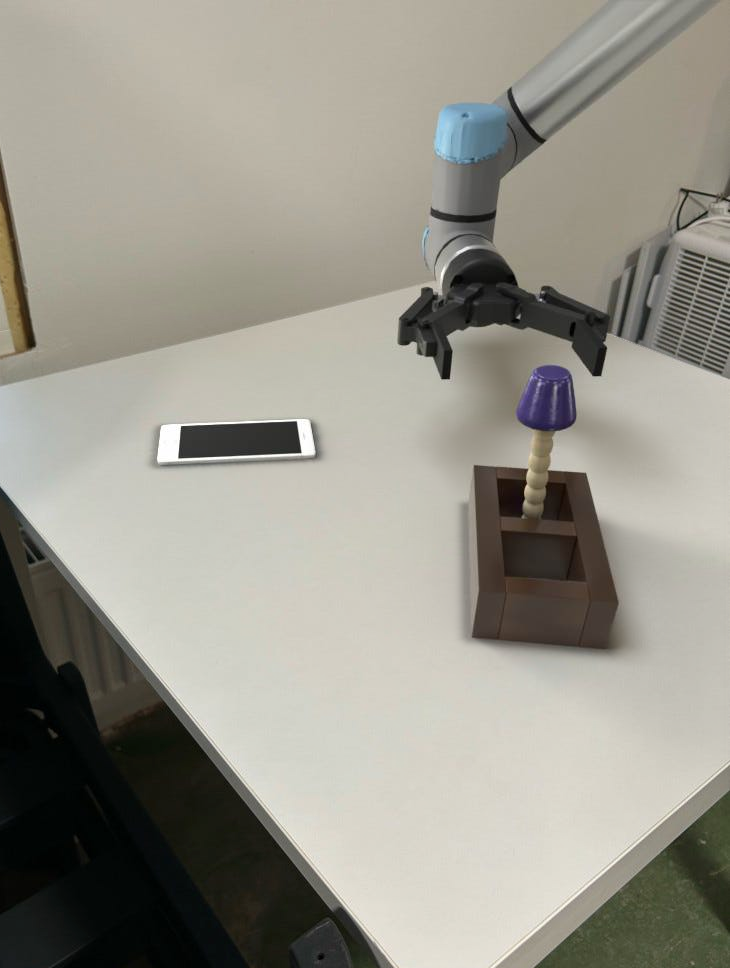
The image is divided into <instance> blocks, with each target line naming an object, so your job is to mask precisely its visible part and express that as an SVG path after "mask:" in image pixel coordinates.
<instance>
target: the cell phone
mask: <svg viewBox="0 0 730 968" xmlns="http://www.w3.org/2000/svg"><path fill="white" fill-rule="evenodd" d="M316 453H317V451H316V445H315V441H314V435H313V430H312V424H311V421H310V419H307V418H303V419H302V418H299V419H298V418H295V419H276V420H275V419H271V420H250V421H249V420H248V421H226V422H224V421H222V422H221V421H220V422H199V423H197V422H196V423H177V424H176V423H174V424H163V425H162V426H161V427H160V435H159V442H158V452H157V459H156V460H157V464H158V465H160V466H169V465H170V466H171V465H191V464H194V465H195V464H214V463H215V464H217V463H235V462H236V463H237V462H239V463H240V462H256V461H280V460H282V461H283V460H302V459H303V460H304V459H305V460H306V459H314V458H316Z"/></svg>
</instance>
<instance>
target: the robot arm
mask: <svg viewBox="0 0 730 968" xmlns="http://www.w3.org/2000/svg"><path fill="white" fill-rule="evenodd" d="M722 1H723V0H607V1H606V2H605V3H603V4H602V5H601V6H600V7H599V8H598V9H597V10H596V11H595V12H594V13H592V14H591V15H590V16H589V17H588V18H587V19H586V20H584V21H583V22H582V23H581V24H580V25H578V27H577V28H575V29H574V30H573V31H572V32H571V33H569V34H568V35H567V36H566V37H565V38H564V39H563V40H562V41H560V43H558V44H557V45H556V46H555V47H554V48H553V49H551V50H550V51H549V52H548V53H547V54H546V55H545V56H544V57H543V58H542V59H540V60H539V61H538V62H537V63H536V64H535V65H533V67H531V68H530V69H529V70H528V71H526V72H525V73H524V74H523V75H522V76H521V77H520V78H518V79H517V81H516V82H514V83H513V84H512V85H511V86H510V87H509V88H507V90H505V91H504V92H503V93H501V94H500V95H499V96H498V97H497V98H495V100H493V101H492V102H491V103H484V102H457V103H451V104H447V105H445V106H444V107H443V108H442V109H440V111H439V114H438V118H437V124H436V132H435V137H434V139H433V147H434V148H433V149H434V154H433V155H434V157H433V168H432V169H433V170H432V184H431V201H430V211H429V220H428V221H429V222H428V225H427V227H426V229H425V230H424V232H423V236H422V242H421V247H422V258H423V260H424V262H425V266H426V268H427V270H428V271H429V273H430V274H431V276H432V278H433V280H434V281H435V284H436V285H437V287H438V289H439V291H440V294H439V292H437V291H434V289H433V288H432V287H429V286H424V287H421V288H420V296H419V297H418V298H417V299H416V300H415V301H414V302H413V303H412V304H411V305H410V306H409V307H408V308H406V310H405V311H404V312H403V313H402V314H401V315H400V317H398V325H397V345H398V346H402V347H406V346H409V345H411V344H412V343H416V352H415V354H417V355H418V356H421V357H425V358H432V359H433V362H434V364H435V366H436V369H437V372H438V375H439V377H440V379H441V380H451V373H452V372H451V371H452V364H453V363H452V362H453V353H454V351H453V348H452V345H451V343H450V341H449V339H448V336H450V335H451V334H453V333H454V332H456V331H461V332H464V331H465V330H467V329H468V328H486V327H489V326H492V325H494V324H496V325H499V326H503V325H505V326H509V327H512V328H514V329H517V330H520V331H524V330H525V329H532V330H536V331H538V332H541V333H544V334H547V335H550V336H553V337H556V338H559V339H561V340H565V341H568V342H570V343H571V348H572V350H573V352H574V353H575V354H576V356H577V357H578V358H579V360H580V361H581V363H582V364H583V365H584V367H585V368H586V370H587V371H588V372H589V373H590V375H591V376H592V377H602V374H603V370H604V365H605V360H606V356H607V351H608V347H607V345H606V344H605V342H606V340H607V336H608V331H609V327H610V322H611V317H612V316H611V315H610V314H608V313H605V312H603V311H601V310H599V309H597V308H595V307H592V306H589V305H587V304H585V303H583V302H580V301H578V300H576V299H574V298H571V297H569V296H567V295H564V294H562V293H560V292H558V291H557V289H556V288H554V287H553V286H550V285H542V286H541V287H540V292H539V293H532V292H529V291H527V290H525V289H523V288H521V287H519V283H518V280H517V278H516V275H515V272H514V270H513V269H512V268H511V266H510V265H509V264H508V262H507V261H506V259H505V258H504V257H503V255H502V254H501V253H500V251H499V250H498V249H497V247H496V246H495V244H494V235H495V234H494V233H495V226H496V220H497V219H496V218H497V209H498V208H497V207H498V202H499V201H498V200H499V193H500V186H501V180H502V179H504V178H505V176H507V175H508V173H510V172H511V171H512V170H513V169H515V168H516V167H517V166H519V164H521V163H522V162H523V161H524V160H526V158H528V157H529V156H530V155H532V154H533V153H534V152H535V151H537V150H538V149H539V148H541V146H543V145H544V144H545V143H546V142H547V141H548V140H550V139H551V138H552V137H553V136H555V135H556V134H557V133H558V132H560V131H562V130H563V128H564V127H566V126H567V125H568V124H569V123H571V122H572V121H574V119H576V118H577V117H579V116H580V115H581V114H582V113H583V112H585V111H586V110H587V109H588V108H590V107H591V106H593V104H595V103H596V102H597V101H599V100H600V99H601V98H602V97H603V96H605V95H606V94H607V93H609V92H610V91H611V90H612V89H613V88H615V87H616V86H618V84H620V83H621V82H623V80H625V79H626V78H627V77H629V76H630V75H631V74H632V73H634V72H635V71H636V70H637V69H638V68H640V67H641V66H642V65H644V64H645V63H646V62H648V61H649V60H650V59H652V58H653V57H654V56H655V55H656V54H657V53H658V52H660V51H661V50H663V49H664V48H665V47H666V46H668V45H669V44H670V43H671V42H673V41H674V40H675V39H677V38H678V37H679V36H680V35H682V34H683V33H684V32H685V31H686V30H688V29H689V28H690V27H692V25H694V24H695V23H696V22H698V21H699V20H700V19H701V18H703V17H704V16H705V15H706V14H708V13H709V12H710V11H711V10H712V9H714V8H716V7H717V6H718V5H719V4H720V3H721V2H722ZM519 316H520V317H519ZM518 317H519V318H518Z"/></svg>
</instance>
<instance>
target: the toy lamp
mask: <svg viewBox="0 0 730 968" xmlns="http://www.w3.org/2000/svg"><path fill="white" fill-rule="evenodd" d="M515 414H516V418H517V420H518V422H519V423H521V424H522V425H523V426H525V427H526V428H530V429H531V430H532V433H533V437H532V438H531V442H530V450H531V452H530V455H529V457H528V466H529V468H528V469H529V470H528V472H527V476H526V480H527V485H526V487H525V491H524V495H525V501H524V503H523V513H524V514H523V516H522V518H528V519H541V517H540V516H541V515H542V513H543V509H544V505H543V500H544V499H545V496H546V488H545V486H546V484H547V481H548V471H547V470H549V469H550V466H551V462H552V461H551V455H550V454H551V453H552V451H553V448H554V439H553V437H554V436H555V434H556V432H560V431H563V430H567V429H569V428H571V427H572V426H573V425H574V424H575V423H576V421H577V405H576V396H575V387H574V380H573V375H572V373H571V371H569V370H568V369H567V368H566V367H563V366H560V365H555V364H545V365H540V366H537V367H536V368H535V369H533V371H532V372H531V374H530V376H529V378H528V381H527V382H526V386H525V388H524V390H523V393H522V395H521V398H520V400H519V402H518V405H517V408H516V413H515Z"/></svg>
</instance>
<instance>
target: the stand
mask: <svg viewBox="0 0 730 968" xmlns="http://www.w3.org/2000/svg"><path fill="white" fill-rule="evenodd" d="M528 470H529V468H525V467H524V468H523V467H511V466H494V465H481V464H480V465H479V464H478V465H477V464H474V465H473V466H472V473H471V481H470V489H469V497H468V505H467V521H468V522H467V524H468V525H467V526H468V556H469V557H468V558H469V559H468V561H469V592H470V593H469V597H470V600H469V601H470V629H471V630H470V631H471V638H474V639H482V640H483V639H484V640H494V641H495V640H497V641H505V642H507V641H508V642H518V643H529V644H539V645H550V646H562V647H572V648H573V647H574V648H585V649H594V650H595V649H596V650H606V649H607V646H608V642H609V639H610V635H611V632H612V629H613V625H614V621H615V618H616V614H617V611H618V607H619V604H620V603H619V598H618V593H617V590H616V585H615V581H614V578H613V573H612V570H611V566H610V561H609V558H608V554H607V550H606V546H605V542H604V538H603V535H602V530H601V526H600V522H599V517H598V514H597V510H596V507H595V502H594V498H593V494H592V490H591V486H590V481H589V477H588V474H587V472H580V471H568V470H567V471H565V470H564V471H563V470H552V469H548V470H547V471H548V481H547V484H546V486H545V488H546V496H545V499H544V500H543V505H544V509H543V513H542V515H541V516H540V517H541V519H528V518H522V516H523V514H524V513H523V503H524V501H525V495H524V491H525V487H526V485H527V480H526V476H527V472H528Z"/></svg>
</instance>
